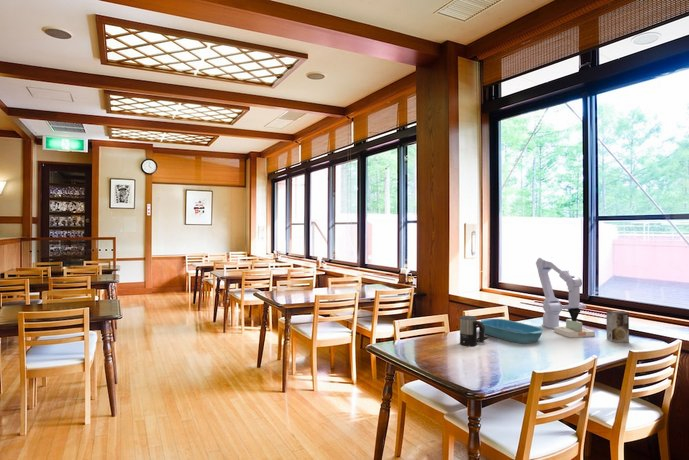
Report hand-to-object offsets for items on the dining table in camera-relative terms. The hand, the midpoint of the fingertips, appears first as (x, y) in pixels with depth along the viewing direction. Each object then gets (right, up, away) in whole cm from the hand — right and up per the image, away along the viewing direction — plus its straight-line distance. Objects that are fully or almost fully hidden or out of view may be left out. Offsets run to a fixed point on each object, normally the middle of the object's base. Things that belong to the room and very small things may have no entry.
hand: (574, 321), depth 255 cm
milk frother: (-65, -9, -19) cm, 68 cm away
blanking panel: (0, -7, 0) cm, 7 cm away
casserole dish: (-40, -8, -5) cm, 41 cm away
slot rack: (0, -8, 0) cm, 8 cm away
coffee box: (+17, -8, -14) cm, 23 cm away
